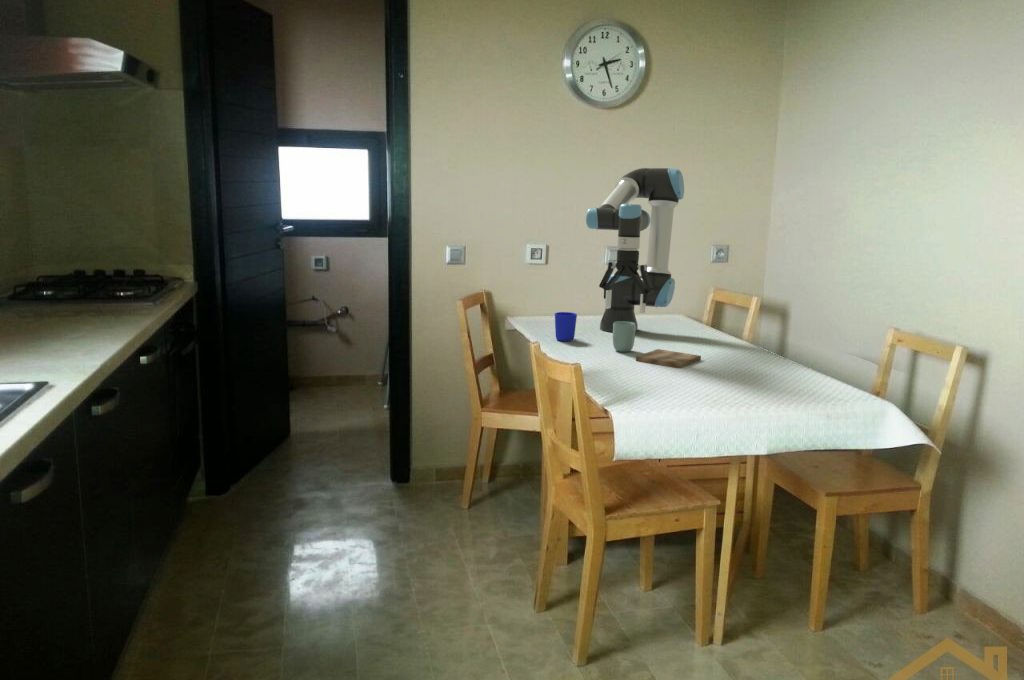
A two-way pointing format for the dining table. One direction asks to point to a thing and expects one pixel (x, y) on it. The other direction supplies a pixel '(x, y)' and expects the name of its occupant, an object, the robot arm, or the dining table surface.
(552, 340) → the dining table surface
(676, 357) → the board
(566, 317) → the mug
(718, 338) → the dining table surface
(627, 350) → the cup
